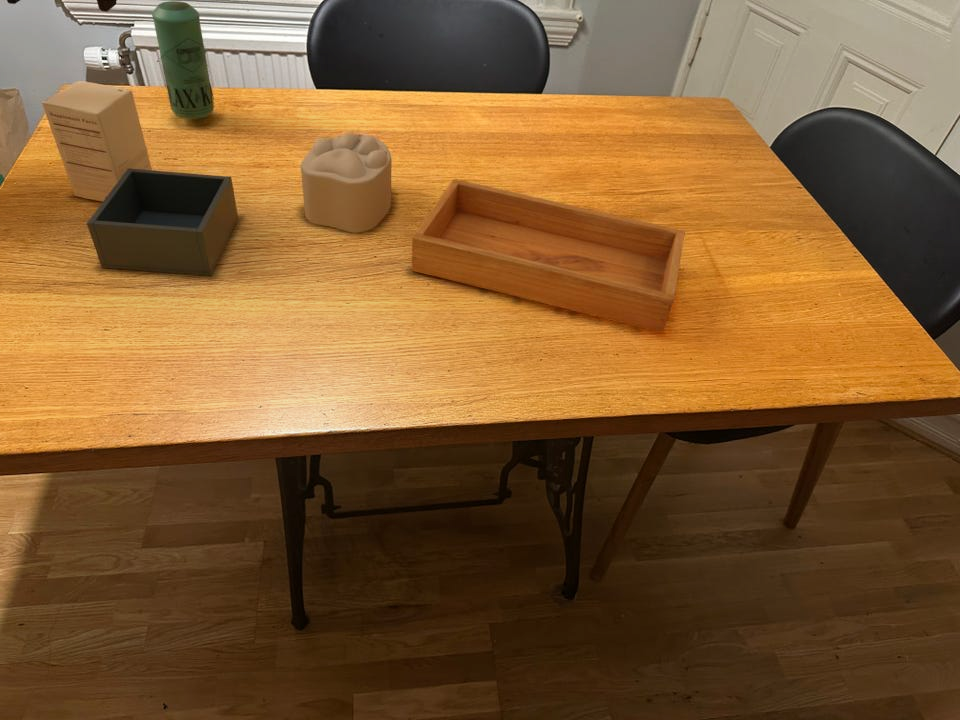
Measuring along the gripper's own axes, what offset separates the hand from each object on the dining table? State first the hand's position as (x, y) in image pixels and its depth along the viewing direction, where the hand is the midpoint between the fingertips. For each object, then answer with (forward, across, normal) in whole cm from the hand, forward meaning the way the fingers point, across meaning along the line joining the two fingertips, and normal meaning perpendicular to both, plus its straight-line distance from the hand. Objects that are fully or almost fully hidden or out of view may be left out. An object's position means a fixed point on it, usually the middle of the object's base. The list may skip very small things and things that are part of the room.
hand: (63, 3), depth 77 cm
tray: (+24, -56, +11) cm, 62 cm away
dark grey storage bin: (+23, -10, +11) cm, 28 cm away
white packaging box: (+23, +1, 0) cm, 23 cm away
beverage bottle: (+23, -3, -22) cm, 32 cm away
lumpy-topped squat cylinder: (+23, -30, -1) cm, 38 cm away
